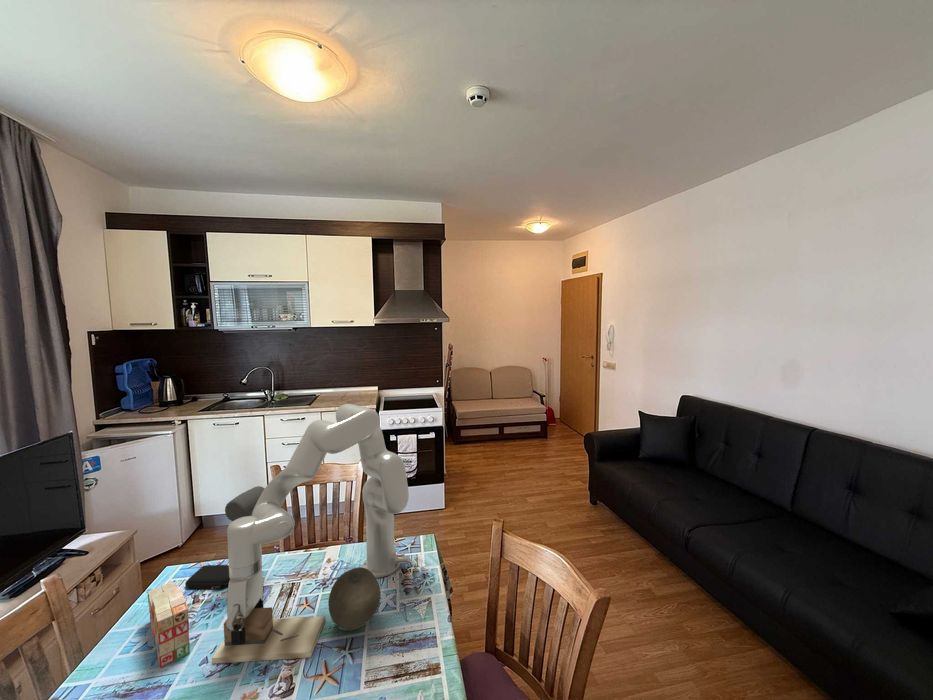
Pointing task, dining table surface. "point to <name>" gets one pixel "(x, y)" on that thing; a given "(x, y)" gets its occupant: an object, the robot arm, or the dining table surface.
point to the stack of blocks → (169, 623)
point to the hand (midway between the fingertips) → (248, 628)
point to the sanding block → (253, 626)
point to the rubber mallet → (243, 504)
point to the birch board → (277, 642)
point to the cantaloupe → (354, 598)
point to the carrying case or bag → (210, 577)
